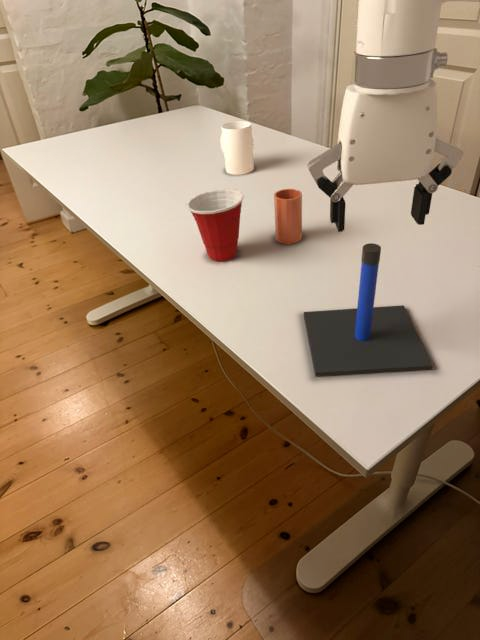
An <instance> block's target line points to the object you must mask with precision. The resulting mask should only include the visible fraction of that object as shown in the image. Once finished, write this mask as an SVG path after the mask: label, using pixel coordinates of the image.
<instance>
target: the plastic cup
mask: <svg viewBox="0 0 480 640" xmlns="http://www.w3.org/2000/svg"><path fill="white" fill-rule="evenodd" d="M244 198H245V197H244V194H243V192H242V191H240V190H237V189H231V188H219V189H213V190H209V191H208V190H207V191H205V192H202V193H199V194H196V195H195V196H194V197H192V198H190V199H189V200H188V201H187V203H186V208H187V210H188V211H189V212H190V213H191V215H192V217H193V219H194V221H195V223H196V225H197V229H198V231H199V234H200V237H201V240H202V243H203V245H204V247H205V251H206V254H207V256H208V258H209V259H210V260H211V261H214V262H227V261H230V260H232V259H234V258H235V257H236V256H237V252H238V246H239V245H238V244H239V237H240V224H241V213H242V206H243V205H242V204H243V200H244Z"/></svg>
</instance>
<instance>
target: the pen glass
mask: <svg viewBox="0 0 480 640" xmlns="http://www.w3.org/2000/svg"><path fill="white" fill-rule="evenodd" d="M273 200H274V201H273V202H274V203H273V204H274V206H273V207H274V229H275V230H274V231H275V240H276V242H278V243H281V244H285V245H290V244H295V243H299V242H300V241H301V240H302V238H303V193H302V191H300V190H299V189H296V188H283V189H280V190H277V191H275V192H274V193H273Z"/></svg>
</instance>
